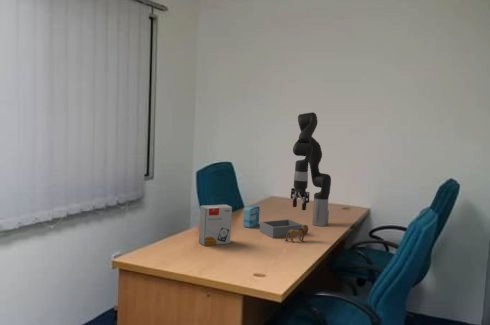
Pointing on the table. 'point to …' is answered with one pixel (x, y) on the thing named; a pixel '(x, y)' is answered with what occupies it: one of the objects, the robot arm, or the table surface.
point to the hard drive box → (215, 224)
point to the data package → (251, 216)
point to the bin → (278, 227)
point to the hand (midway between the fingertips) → (299, 208)
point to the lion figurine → (298, 233)
